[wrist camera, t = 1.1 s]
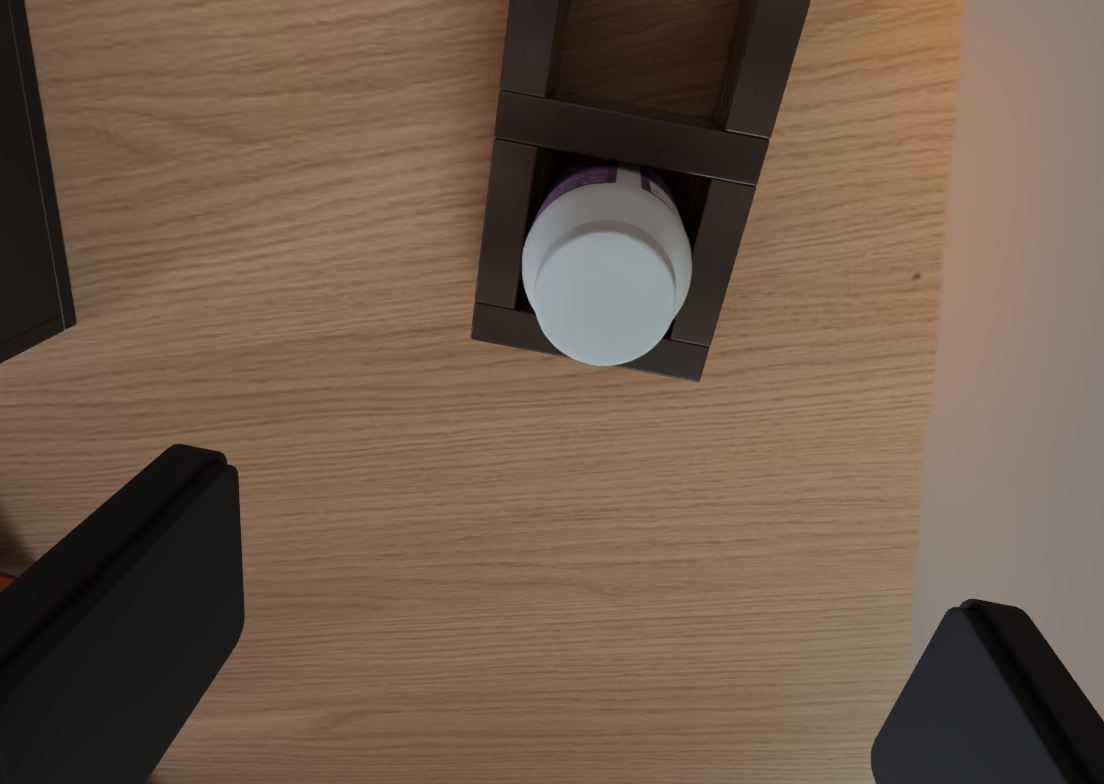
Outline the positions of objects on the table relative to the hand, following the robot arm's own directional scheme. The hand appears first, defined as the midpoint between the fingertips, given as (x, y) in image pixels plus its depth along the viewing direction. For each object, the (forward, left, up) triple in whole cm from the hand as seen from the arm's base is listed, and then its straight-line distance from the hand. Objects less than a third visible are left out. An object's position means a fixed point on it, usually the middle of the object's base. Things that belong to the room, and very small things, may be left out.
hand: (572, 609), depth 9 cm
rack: (-4, 0, -21) cm, 21 cm away
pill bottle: (0, 0, -21) cm, 21 cm away
